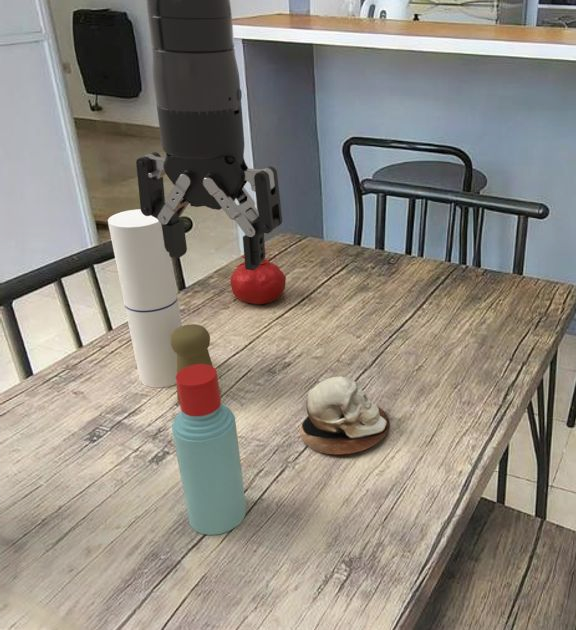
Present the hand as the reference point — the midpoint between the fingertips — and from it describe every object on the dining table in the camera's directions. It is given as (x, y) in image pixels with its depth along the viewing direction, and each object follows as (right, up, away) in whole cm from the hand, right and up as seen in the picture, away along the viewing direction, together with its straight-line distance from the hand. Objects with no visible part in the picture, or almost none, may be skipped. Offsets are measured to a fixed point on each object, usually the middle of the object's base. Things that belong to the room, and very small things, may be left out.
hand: (215, 261), depth 70 cm
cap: (-2, -15, +1) cm, 15 cm away
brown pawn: (-11, -17, +28) cm, 35 cm away
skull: (+11, -21, +22) cm, 33 cm away
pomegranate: (-9, -3, +57) cm, 57 cm away
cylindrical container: (-18, -15, +33) cm, 40 cm away
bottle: (-2, -28, +8) cm, 29 cm away
